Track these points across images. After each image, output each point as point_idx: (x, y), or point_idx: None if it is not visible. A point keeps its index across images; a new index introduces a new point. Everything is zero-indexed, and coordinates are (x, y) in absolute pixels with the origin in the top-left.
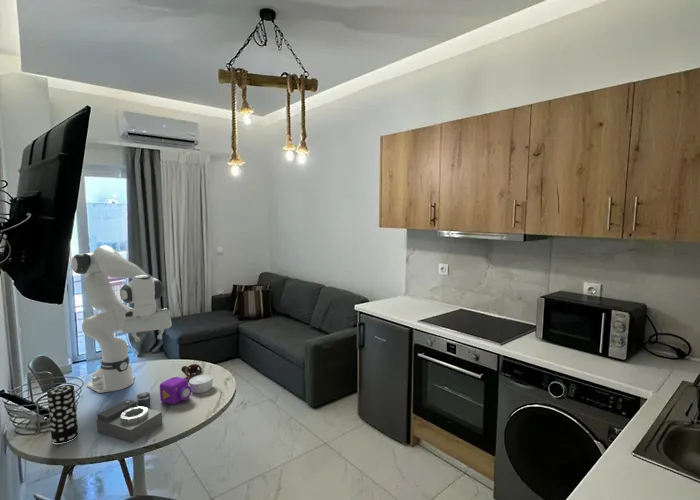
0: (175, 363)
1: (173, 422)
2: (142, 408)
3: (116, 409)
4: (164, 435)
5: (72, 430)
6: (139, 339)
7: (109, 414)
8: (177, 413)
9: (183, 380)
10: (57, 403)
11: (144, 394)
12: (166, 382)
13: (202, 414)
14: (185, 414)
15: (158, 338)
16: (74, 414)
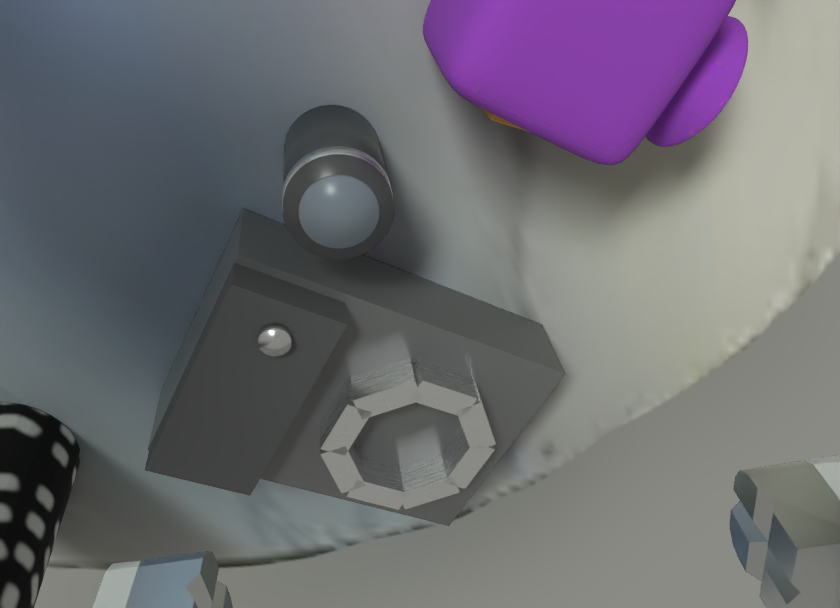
0: None
1: (607, 315)
2: (442, 405)
3: (248, 419)
4: (587, 421)
5: (64, 508)
6: (199, 593)
7: (241, 470)
8: (610, 215)
9: (709, 31)
10: None
11: (349, 213)
12: (530, 82)
13: (779, 235)
14: (667, 230)
15: (762, 558)
16: (36, 572)
